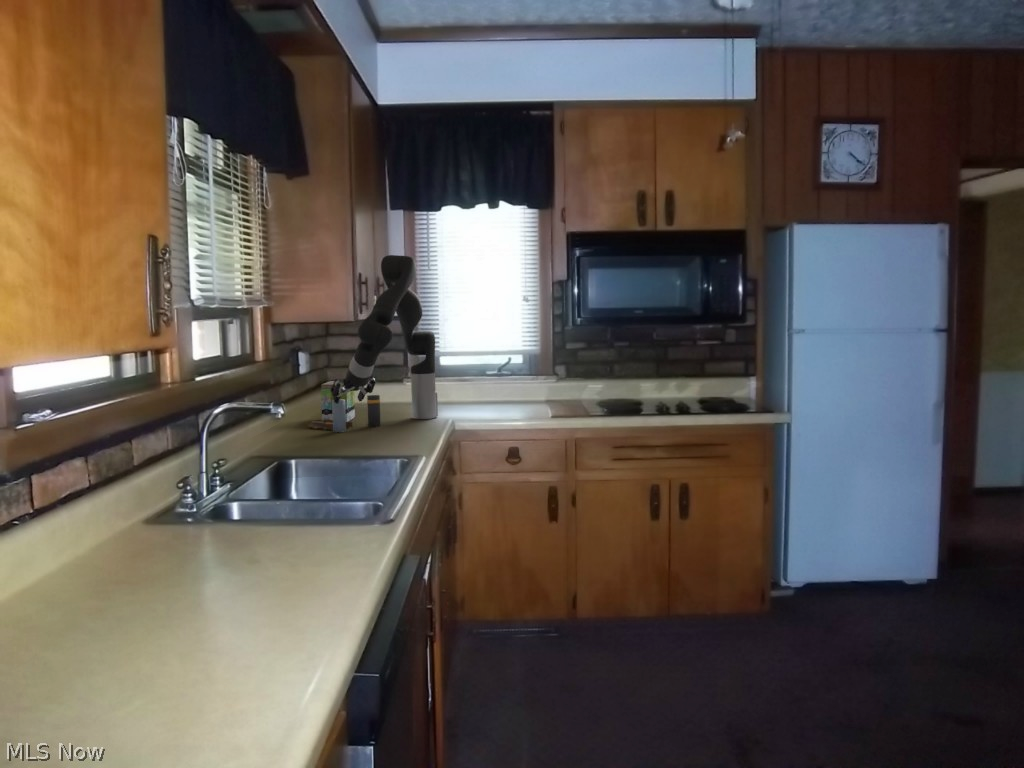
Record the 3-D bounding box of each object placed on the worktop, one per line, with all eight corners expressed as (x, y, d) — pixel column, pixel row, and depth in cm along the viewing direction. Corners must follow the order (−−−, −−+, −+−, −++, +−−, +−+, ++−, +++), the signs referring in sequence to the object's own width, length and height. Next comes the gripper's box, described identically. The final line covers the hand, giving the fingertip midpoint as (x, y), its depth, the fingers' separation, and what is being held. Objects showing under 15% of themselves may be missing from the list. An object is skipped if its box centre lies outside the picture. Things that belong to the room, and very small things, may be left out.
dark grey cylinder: (374, 424, 297) (373, 394, 296) (383, 425, 294) (382, 395, 293) (365, 426, 293) (364, 395, 292) (374, 427, 290) (373, 396, 289)
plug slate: (340, 430, 285) (338, 399, 284) (348, 431, 282) (347, 399, 281) (330, 431, 281) (329, 400, 280) (339, 432, 279) (338, 401, 278)
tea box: (348, 423, 302) (346, 383, 301) (321, 423, 302) (319, 384, 301) (355, 417, 317) (354, 379, 316) (330, 418, 317) (328, 380, 316)
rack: (325, 424, 299) (325, 418, 299) (352, 427, 291) (352, 421, 291) (309, 427, 292) (308, 421, 292) (335, 430, 284) (335, 423, 284)
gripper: (376, 358, 270) (363, 390, 281) (336, 361, 262) (324, 393, 273) (384, 375, 266) (370, 407, 277) (344, 378, 258) (331, 411, 269)
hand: (347, 400), depth 275 cm, fingers open, 8 cm apart
